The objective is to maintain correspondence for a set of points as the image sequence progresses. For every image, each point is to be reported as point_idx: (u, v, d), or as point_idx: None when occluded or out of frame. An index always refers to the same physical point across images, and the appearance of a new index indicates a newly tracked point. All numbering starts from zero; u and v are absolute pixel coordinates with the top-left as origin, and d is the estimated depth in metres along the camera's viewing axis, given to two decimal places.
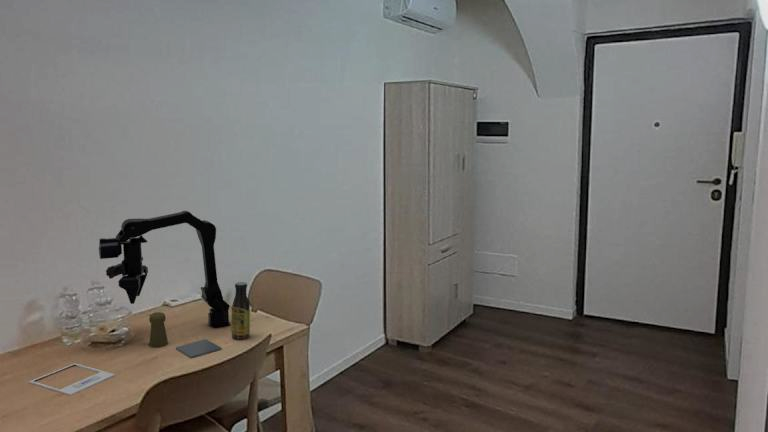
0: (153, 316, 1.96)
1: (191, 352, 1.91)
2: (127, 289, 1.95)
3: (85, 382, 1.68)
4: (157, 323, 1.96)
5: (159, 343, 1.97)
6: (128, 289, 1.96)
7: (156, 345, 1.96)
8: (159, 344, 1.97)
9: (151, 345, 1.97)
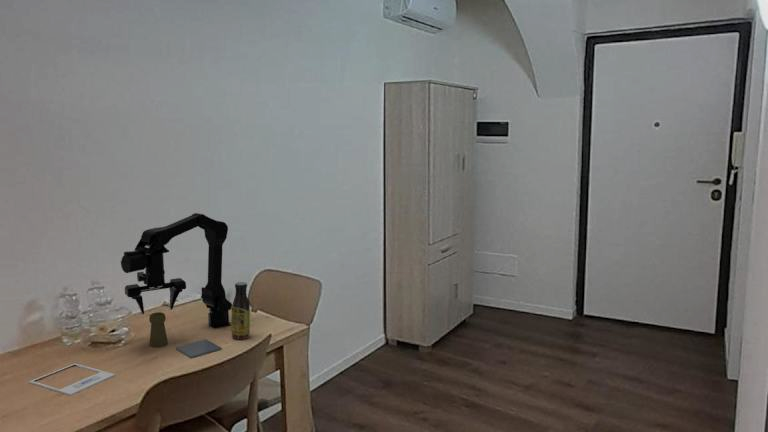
0: (153, 316, 1.96)
1: (191, 352, 1.91)
2: None
3: (85, 382, 1.68)
4: (157, 323, 1.96)
5: (159, 343, 1.97)
6: None
7: (156, 345, 1.96)
8: (159, 344, 1.97)
9: (151, 345, 1.97)
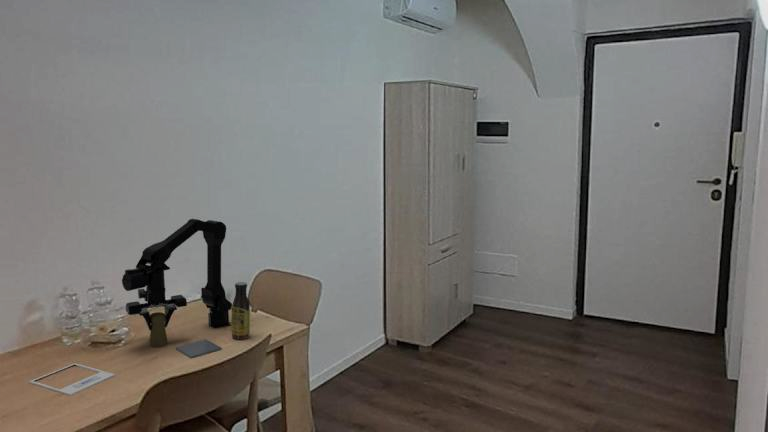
0: (153, 316, 1.96)
1: (191, 352, 1.91)
2: None
3: (85, 382, 1.68)
4: (157, 323, 1.96)
5: (159, 343, 1.97)
6: None
7: (156, 345, 1.96)
8: (159, 344, 1.97)
9: (151, 345, 1.97)
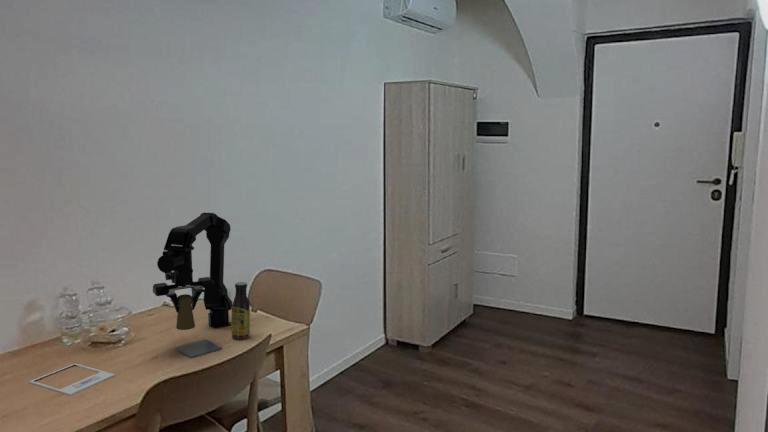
0: (180, 298, 1.92)
1: (191, 352, 1.91)
2: None
3: (85, 382, 1.68)
4: (184, 305, 1.92)
5: (186, 326, 1.92)
6: (171, 296, 1.92)
7: (183, 327, 1.92)
8: (186, 327, 1.93)
9: (178, 327, 1.93)
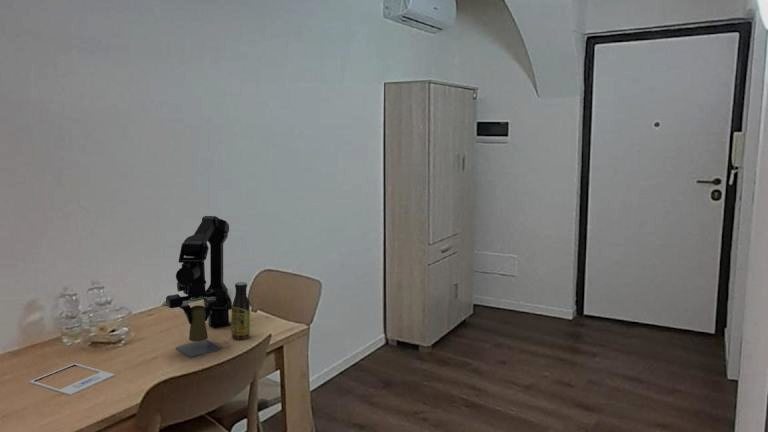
0: (193, 309, 1.91)
1: (191, 352, 1.91)
2: None
3: (85, 382, 1.68)
4: (197, 316, 1.91)
5: (199, 337, 1.92)
6: None
7: (196, 339, 1.92)
8: (199, 338, 1.92)
9: (191, 339, 1.92)
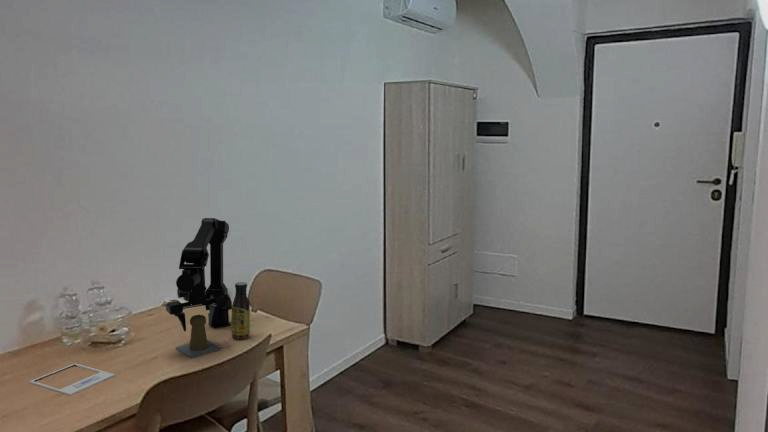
0: (194, 319, 1.92)
1: (191, 352, 1.91)
2: None
3: (85, 382, 1.68)
4: (198, 326, 1.92)
5: (200, 346, 1.92)
6: (178, 315, 1.91)
7: (197, 348, 1.92)
8: (200, 347, 1.93)
9: (191, 348, 1.93)
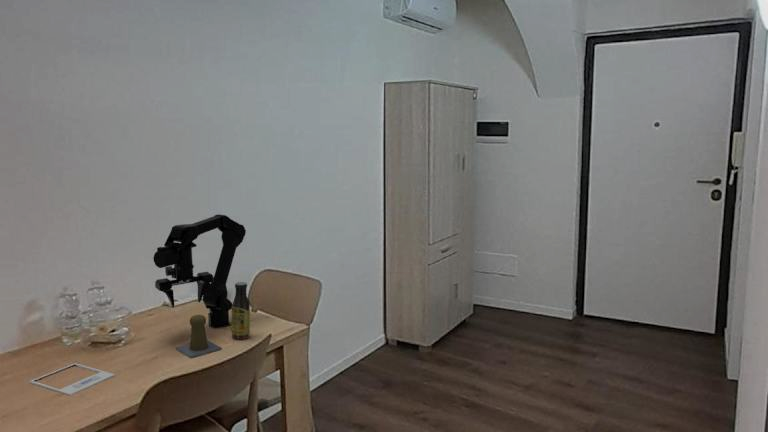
0: (194, 319, 1.92)
1: (191, 352, 1.91)
2: None
3: (85, 382, 1.68)
4: (198, 326, 1.92)
5: (199, 346, 1.92)
6: None
7: (197, 348, 1.92)
8: (200, 347, 1.93)
9: (191, 348, 1.93)
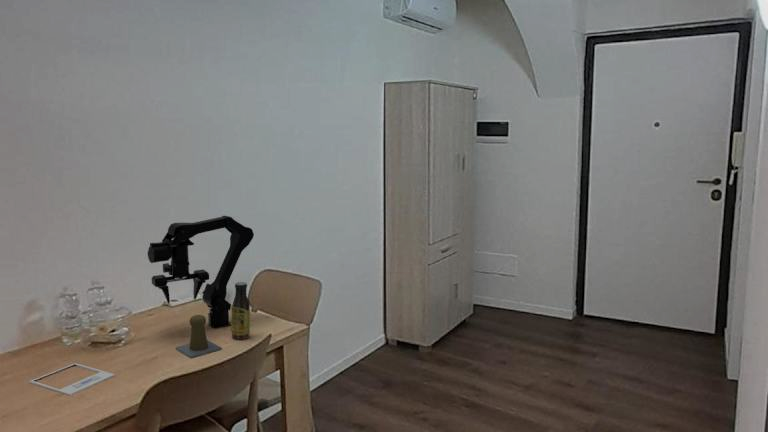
0: (194, 319, 1.92)
1: (191, 352, 1.91)
2: None
3: (85, 382, 1.68)
4: (198, 326, 1.92)
5: (200, 347, 1.92)
6: (163, 288, 2.04)
7: (197, 348, 1.92)
8: (200, 347, 1.93)
9: (191, 348, 1.93)
